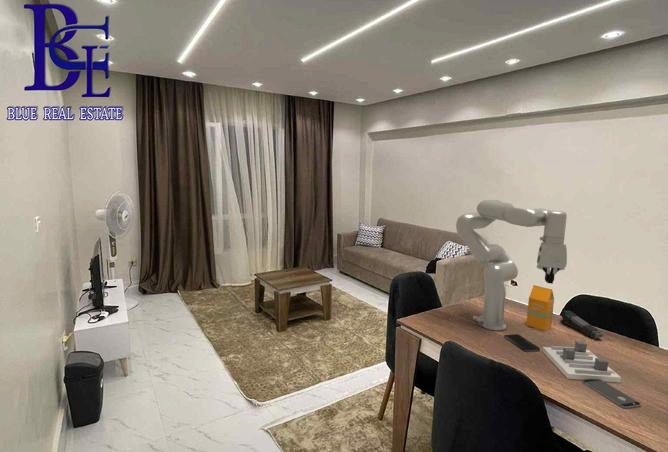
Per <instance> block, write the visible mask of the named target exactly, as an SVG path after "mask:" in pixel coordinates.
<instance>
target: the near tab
mask: <svg viewBox="0 0 668 452" xmlns="http://www.w3.org/2000/svg"><path fill="white" fill-rule="evenodd" d="M608 367H609V361H607V359H605V358H601V357H599V358H598V357H597V358H595V366H594V369H595V370H600V371H607V369H608Z"/></svg>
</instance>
